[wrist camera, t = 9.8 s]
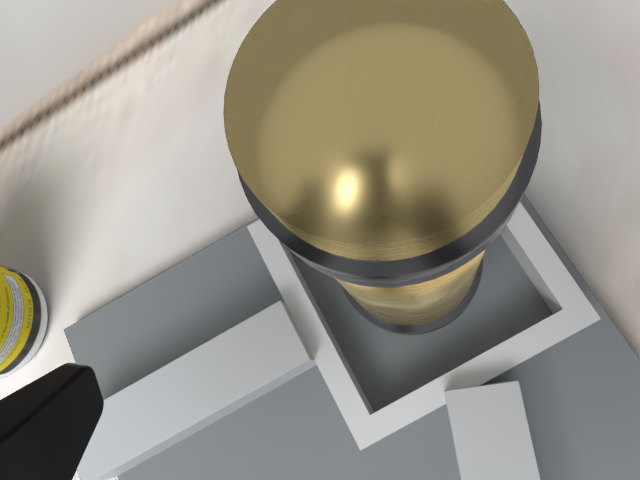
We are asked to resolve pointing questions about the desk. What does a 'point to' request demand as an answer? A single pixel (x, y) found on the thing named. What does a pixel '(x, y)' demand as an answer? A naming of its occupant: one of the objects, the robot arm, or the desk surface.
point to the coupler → (387, 144)
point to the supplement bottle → (19, 320)
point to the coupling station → (359, 374)
